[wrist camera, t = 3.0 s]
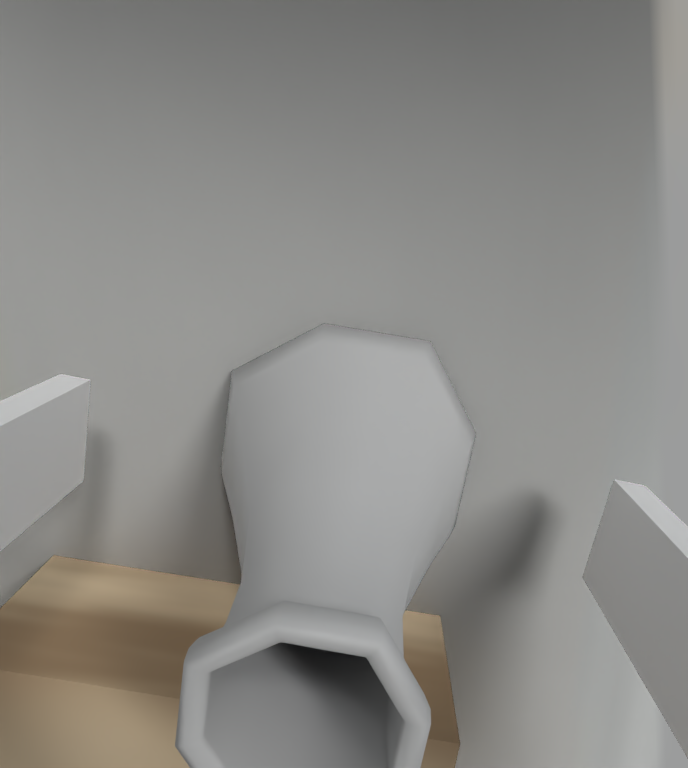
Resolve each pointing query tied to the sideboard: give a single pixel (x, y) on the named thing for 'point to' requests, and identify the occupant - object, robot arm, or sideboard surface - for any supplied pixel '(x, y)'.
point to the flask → (327, 554)
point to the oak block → (139, 666)
